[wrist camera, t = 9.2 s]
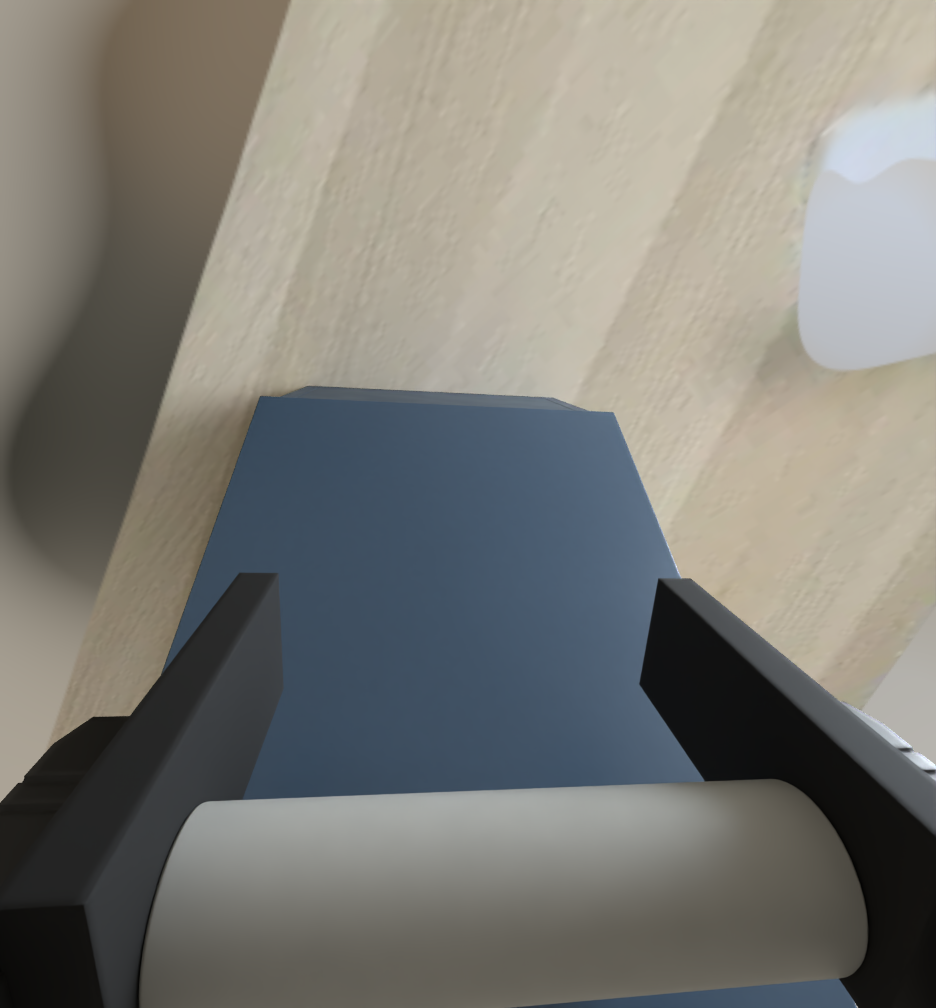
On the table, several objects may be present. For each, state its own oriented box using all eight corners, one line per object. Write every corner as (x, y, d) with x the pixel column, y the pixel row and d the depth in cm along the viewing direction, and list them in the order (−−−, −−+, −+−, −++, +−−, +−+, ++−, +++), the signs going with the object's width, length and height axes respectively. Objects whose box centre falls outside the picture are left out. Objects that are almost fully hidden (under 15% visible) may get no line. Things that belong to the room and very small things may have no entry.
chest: (527, 659, 39) (562, 757, 30) (316, 662, 38) (284, 766, 28) (553, 397, 34) (607, 417, 24) (307, 385, 32) (264, 401, 23)
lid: (854, 1060, 11) (1348, 1138, 5) (12, 1152, 9) (-627, 1426, 3) (608, 425, 24) (669, 263, 19) (263, 411, 23) (220, 226, 17)
